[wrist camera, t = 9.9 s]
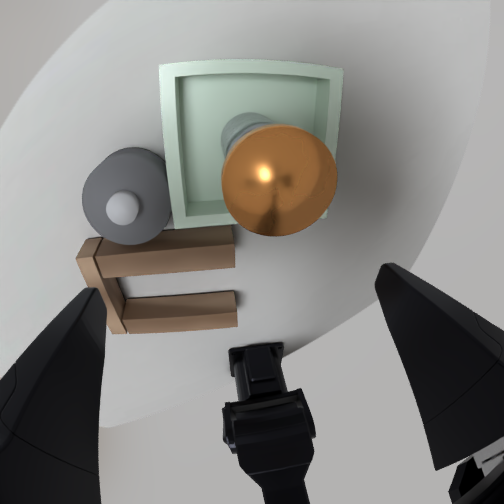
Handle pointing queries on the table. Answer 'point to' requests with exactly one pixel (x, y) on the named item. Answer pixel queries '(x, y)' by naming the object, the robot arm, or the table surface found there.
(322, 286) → the table surface
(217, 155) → the tray
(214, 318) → the brown u-shaped piece
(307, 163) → the pin
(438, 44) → the table surface
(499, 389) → the robot arm
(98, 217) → the pulley
